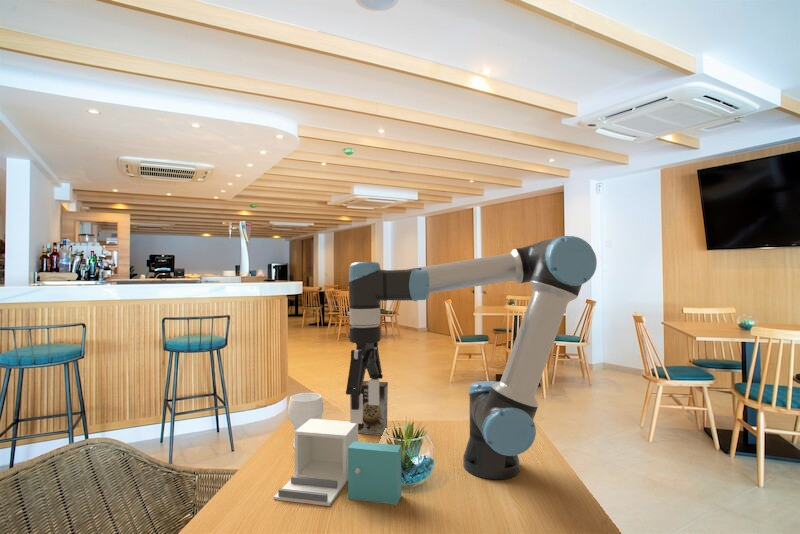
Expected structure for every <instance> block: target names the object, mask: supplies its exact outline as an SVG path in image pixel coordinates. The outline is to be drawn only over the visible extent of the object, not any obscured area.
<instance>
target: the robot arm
mask: <svg viewBox="0 0 800 534" xmlns="http://www.w3.org/2000/svg"><path fill="white" fill-rule="evenodd" d="M597 261H598V260H597V256H596V253H595V251H594V249H593V248H592V246H591V244H589V242H587V241H586V240H585V239H583V238H581V237H579V236H573V235H560V236H557V237H555V238H550V239H546V240H542V241H539V242H537V243H533V244H531V245H526V246H523V247H518V248H513V249H512V250H511V251H510V252H509V253H504V254H503V253H502V254H498V255H496V254H495V255H491V256H485V257H484V256H483V257H478V258H472V259H467V260H466V259H465V260H458V261H453V262H447V263H440V264H434V265H426V266H421V267H413V268H408V269H388V270H386V269H381V265H380V263H379V262H377V261H356V262H352V263H351V264H350V265H349V270H348V271H349V273H348V304H349V305H348V306H349V307H348V308H349V311H348V312H347V315H348V316H349V324H350V325H351V326H350V327H349V332H348V333H349V342H350V343H352V344H355V345H356V347H355V349H351V351H350V364H349V368H348V369H349V370H348V376H347V384H346V390H345V394H346V395H347V396H350V397H349V409H350V411H349V412H350V416H349V417H350V421H349V422H350V423H358V424H362V423H363V394H361V390H362V385H363V381H365V380H364V379H365V374H366V370H367V374H368V376H369V378H368V379H367V381H368V397H369V405H379V382H380V379H383V377H384V376H383V374H382V373H383V371H382V366H381V365H382V364H381V359H380V354H379V342H380V341H381V326H380V324H381V321H382V319H381V301H384V302H385V301H399V302H401V301H407V302H408V301H414V302H417V301H425V300H428V298H429V297H430V294H434V293H435V294H436V293H442V292H447V291H454V290H455V291H456V290H461V289H467V288H468V289H469V288H475V287H479V286H480V287H481V286H487V285H493V284H500V283H506V282H513V281H514V282H515V283H517V284H523V283H529V284H530V286H531V288H532V293H531V295H530V299H529V301H528V304H527V306H526V310H525V312H524V315H523V316H522V317H523V318H522V320H521V323H520V326H519V329H518V332H517V335H516V336H515V340H514V342H513V345H512V347H511V350H510V354H509V356H508V359H507V361H506V365H505V367H504V370H503V373H502V376H501V378H500V381H493V380H491V381H487V380H485V381H484V380H483V381H475V382H472V383H471V384H470V385H469V393H468V396H469V398H468V399H469V437H468V441H467V444H466V447H465V450H464V452H463V457H462V459H463V461H462V464H463V468H464V469H465V471H466V472H468V473H469V474H470V475H473V476H476V477H479V478H483V479H487V480H488V479H489V480H506V479H510V478H513V477H515V476H516V475H518V474H519V473H520V470H521V467H520V458H519V455H520V454H523V453H524V452H526V451H528V450H529V449H530V447H532V445H533V443H534V441H535V439H536V435H537V430H536V424H535V422H534V418H535V416H536V413H537V411H538V408H539V403H538V401H537V398H536V392H537V390H538V387H539V384H540V382H541V380H542V379H541V378H542V376H543V373H544V370H545V367H546V364H547V362H548V359H549V357H550V354H551V351H552V348H553V346H554V344H555V343H554V342H555V340H556V338H557V335H558V332H559V329H560V326H561V324H562V321H563V319H564V315H565V313H566V310H567V307H568V304H569V303H571V301H574V300H576V299H578V297H579V294H580V292H581V288H582V285H584V284H586V283H587V282H588V281H590V280H591V279H592V278H593V276H594V274H595V273H596V270H597V264H598V263H597Z"/></svg>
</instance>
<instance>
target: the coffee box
mask: <svg viewBox="0 0 800 534" xmlns="http://www.w3.org/2000/svg"><path fill="white" fill-rule="evenodd" d="M388 386H389V383H388V381H379V405H369V397H368V380H363V385H362V390H361V394H363V423H362V424H358V434H365V435H378V436H383V435H382V434H383V432H384V430H385V428H387V429H388V392H389V391H388V390H389V389H388V388H389V387H388Z"/></svg>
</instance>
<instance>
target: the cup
mask: <svg viewBox="0 0 800 534" xmlns="http://www.w3.org/2000/svg"><path fill="white" fill-rule="evenodd" d="M287 408H288V409H287V414H288V417H289V421H290V422H291V424H292V426H293V433H294V434H295V431H296V430H297V429H298V428H300V427H301V426H302V425H303V424H305V423H306V422H307V421H308V420H310V419H322V416H323V413H324V401H323V397H322V395H321V394H320V393H318V392H300V393H296V394H293V395H291V396H290V397H289V402H288V406H287ZM292 442H293V444H292V448H293V449H294V450H295V435H294V437H293V441H292Z"/></svg>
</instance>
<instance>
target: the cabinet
mask: <svg viewBox="0 0 800 534" xmlns="http://www.w3.org/2000/svg"><path fill="white" fill-rule="evenodd" d="M294 436H295V449H294V475H292V476H291V477H290V480H289V481H288V482H287V483H285V484H284V485H283V487H282V488H279V489H278V492H277V493H276V494H275V495H273V500H277V501H283V502H284V501H285V502H293V503H300V504H302V503H303V504H309V505H316V506H326V507H331V505H332V503H333V502H334V501H335V500H336V498H337V497H338V496H339V494H340V492H341V491H342V489H343V488H344V486H345V485H346V484H347V483H348V447H349V446H350V445H351V444H352V442H353V441H355V442H359V433H358V423H350V421H348V420H337V419H335V420H334V419H333V420H331V419H322V418H321V419H310V420H308V421H307V422H306V423H305V424H303V425H302V426H301V427H300V428H298V429H297V430H296V431H295V433H294Z"/></svg>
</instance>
